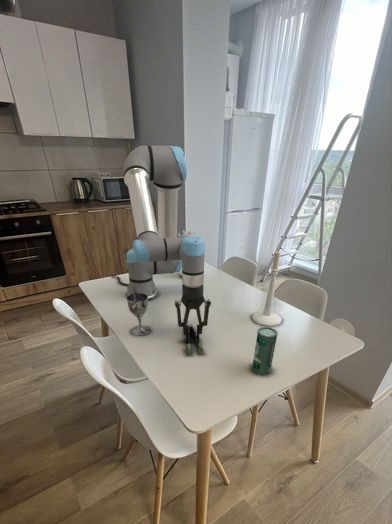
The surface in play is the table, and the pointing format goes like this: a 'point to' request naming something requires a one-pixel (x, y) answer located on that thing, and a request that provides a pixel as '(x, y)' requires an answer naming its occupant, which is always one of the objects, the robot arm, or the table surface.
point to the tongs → (200, 347)
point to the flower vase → (186, 235)
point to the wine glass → (138, 310)
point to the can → (264, 350)
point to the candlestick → (269, 300)
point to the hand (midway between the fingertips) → (192, 341)
